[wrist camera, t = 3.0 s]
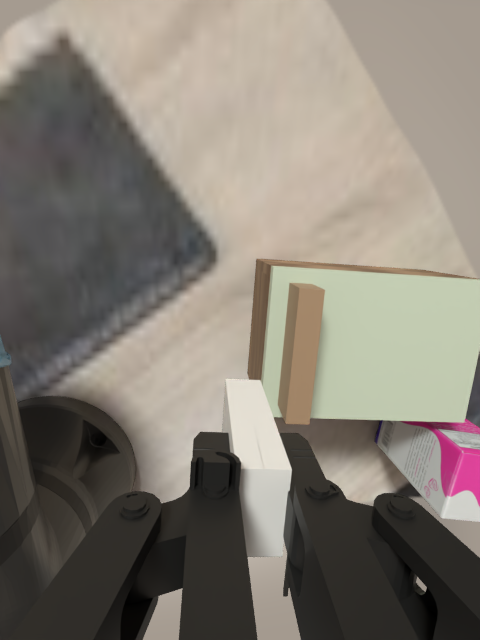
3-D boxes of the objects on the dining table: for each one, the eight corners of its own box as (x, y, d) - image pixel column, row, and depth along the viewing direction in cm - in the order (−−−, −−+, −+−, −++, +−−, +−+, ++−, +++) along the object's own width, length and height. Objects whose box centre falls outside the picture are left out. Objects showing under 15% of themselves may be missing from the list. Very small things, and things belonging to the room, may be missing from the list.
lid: (258, 410, 30) (266, 437, 26) (271, 265, 27) (281, 270, 23) (456, 416, 31) (492, 442, 27) (483, 279, 29) (527, 286, 25)
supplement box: (425, 449, 41) (506, 529, 30) (373, 441, 40) (436, 520, 29) (441, 399, 40) (532, 462, 29) (387, 390, 39) (459, 451, 28)
